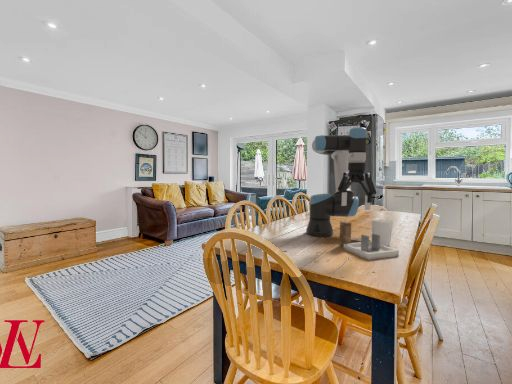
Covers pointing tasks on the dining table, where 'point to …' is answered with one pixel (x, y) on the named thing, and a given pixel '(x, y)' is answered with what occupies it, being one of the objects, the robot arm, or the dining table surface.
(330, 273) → the dining table surface
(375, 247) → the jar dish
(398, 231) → the dining table surface
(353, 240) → the wick
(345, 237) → the brown rectangular block
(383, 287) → the dining table surface
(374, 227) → the candle holder
